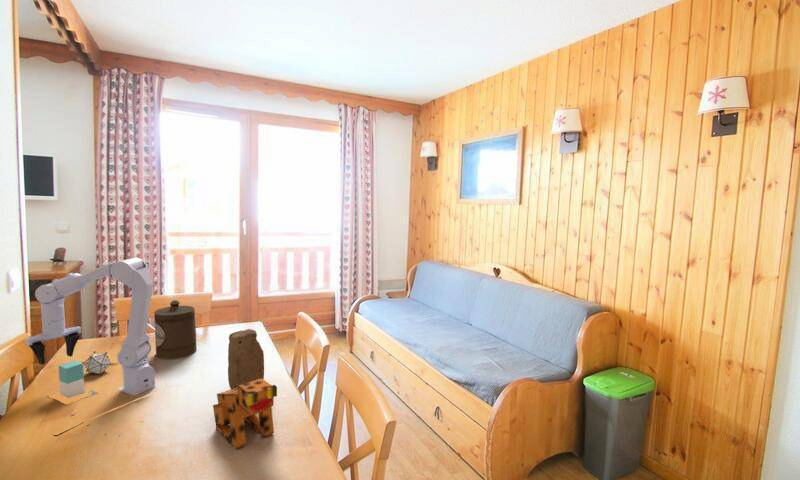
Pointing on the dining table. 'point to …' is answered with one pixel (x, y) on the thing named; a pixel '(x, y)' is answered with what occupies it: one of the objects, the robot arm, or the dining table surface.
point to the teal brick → (71, 372)
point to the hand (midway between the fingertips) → (56, 359)
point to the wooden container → (175, 331)
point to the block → (244, 358)
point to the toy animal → (245, 411)
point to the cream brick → (72, 388)
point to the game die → (97, 363)
